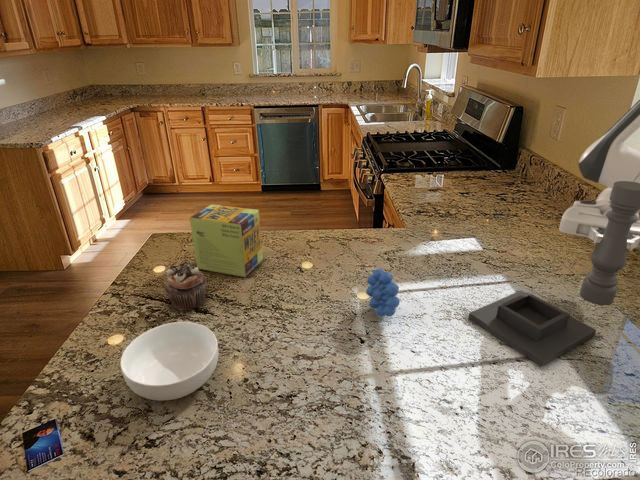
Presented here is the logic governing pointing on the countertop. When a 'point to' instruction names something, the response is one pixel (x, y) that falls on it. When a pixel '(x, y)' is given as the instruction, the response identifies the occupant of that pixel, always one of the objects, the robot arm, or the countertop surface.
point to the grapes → (383, 293)
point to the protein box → (227, 239)
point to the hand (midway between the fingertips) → (613, 243)
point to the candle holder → (612, 245)
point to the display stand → (532, 326)
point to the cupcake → (185, 287)
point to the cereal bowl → (170, 360)
